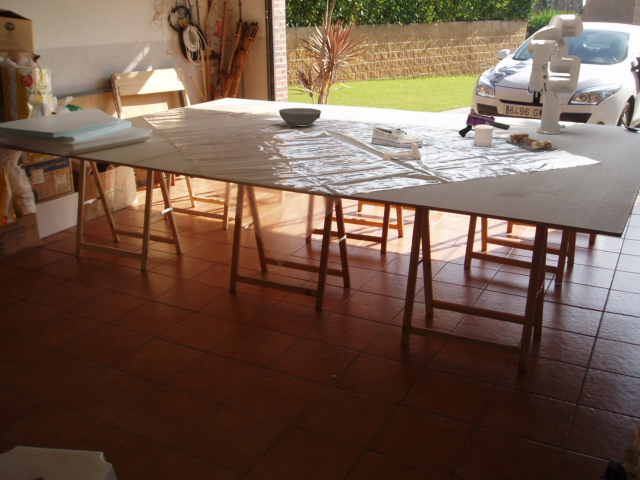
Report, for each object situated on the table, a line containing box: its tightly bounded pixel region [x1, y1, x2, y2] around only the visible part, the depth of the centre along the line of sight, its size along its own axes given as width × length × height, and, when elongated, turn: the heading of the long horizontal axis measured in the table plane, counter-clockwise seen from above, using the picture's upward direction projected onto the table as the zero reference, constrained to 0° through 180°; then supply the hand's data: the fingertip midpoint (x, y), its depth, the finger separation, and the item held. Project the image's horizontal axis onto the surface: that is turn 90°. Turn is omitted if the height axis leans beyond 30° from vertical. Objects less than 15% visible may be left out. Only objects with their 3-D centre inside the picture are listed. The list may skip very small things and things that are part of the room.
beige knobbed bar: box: [382, 142, 422, 161], centre depth 284 cm, size 4×18×10 cm, turn 91°
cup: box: [473, 125, 494, 147], centre depth 309 cm, size 10×10×10 cm
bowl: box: [278, 107, 322, 126], centre depth 370 cm, size 26×26×10 cm
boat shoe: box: [371, 126, 423, 149], centre depth 312 cm, size 11×29×10 cm, turn 64°
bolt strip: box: [505, 139, 558, 154], centre depth 305 cm, size 13×26×1 cm, turn 16°
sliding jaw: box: [532, 139, 553, 148], centre depth 296 cm, size 10×3×3 cm, turn 106°
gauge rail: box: [509, 133, 553, 149], centre depth 305 cm, size 10×26×5 cm, turn 16°
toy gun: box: [458, 111, 511, 138], centre depth 326 cm, size 3×26×15 cm, turn 78°
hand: (535, 104), depth 299 cm, fingers closed
